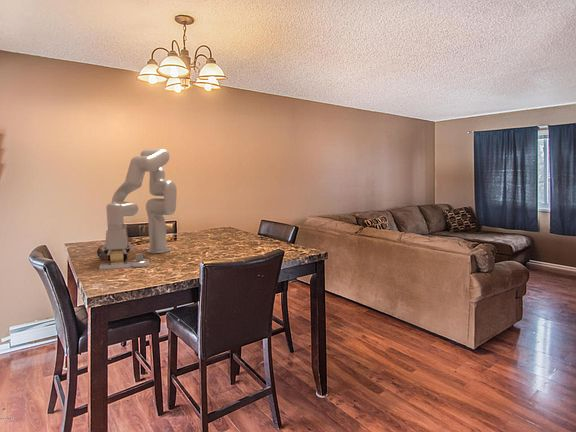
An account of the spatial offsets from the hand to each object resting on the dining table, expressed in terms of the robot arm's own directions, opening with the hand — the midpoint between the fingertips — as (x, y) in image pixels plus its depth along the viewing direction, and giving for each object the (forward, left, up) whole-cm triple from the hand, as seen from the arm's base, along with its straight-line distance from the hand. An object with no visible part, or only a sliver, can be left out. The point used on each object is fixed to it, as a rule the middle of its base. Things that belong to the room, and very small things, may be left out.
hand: (118, 261), depth 187 cm
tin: (-12, -4, -1) cm, 13 cm away
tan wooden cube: (0, 0, -1) cm, 1 cm away
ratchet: (+8, +4, -1) cm, 9 cm away
